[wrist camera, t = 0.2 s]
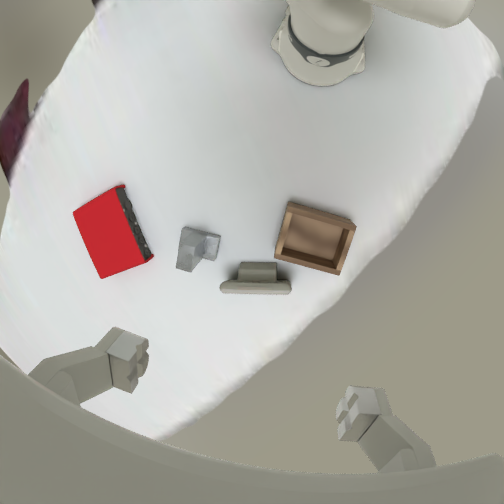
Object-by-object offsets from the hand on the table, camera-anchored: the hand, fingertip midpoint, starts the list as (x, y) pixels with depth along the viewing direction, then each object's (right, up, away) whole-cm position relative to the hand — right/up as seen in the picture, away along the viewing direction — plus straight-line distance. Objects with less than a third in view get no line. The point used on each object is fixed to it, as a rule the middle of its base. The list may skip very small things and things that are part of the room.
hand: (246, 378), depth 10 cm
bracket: (-11, +7, +50) cm, 52 cm away
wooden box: (+12, +9, +47) cm, 49 cm away
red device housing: (-32, +10, +52) cm, 62 cm away
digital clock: (+2, 0, +52) cm, 52 cm away
